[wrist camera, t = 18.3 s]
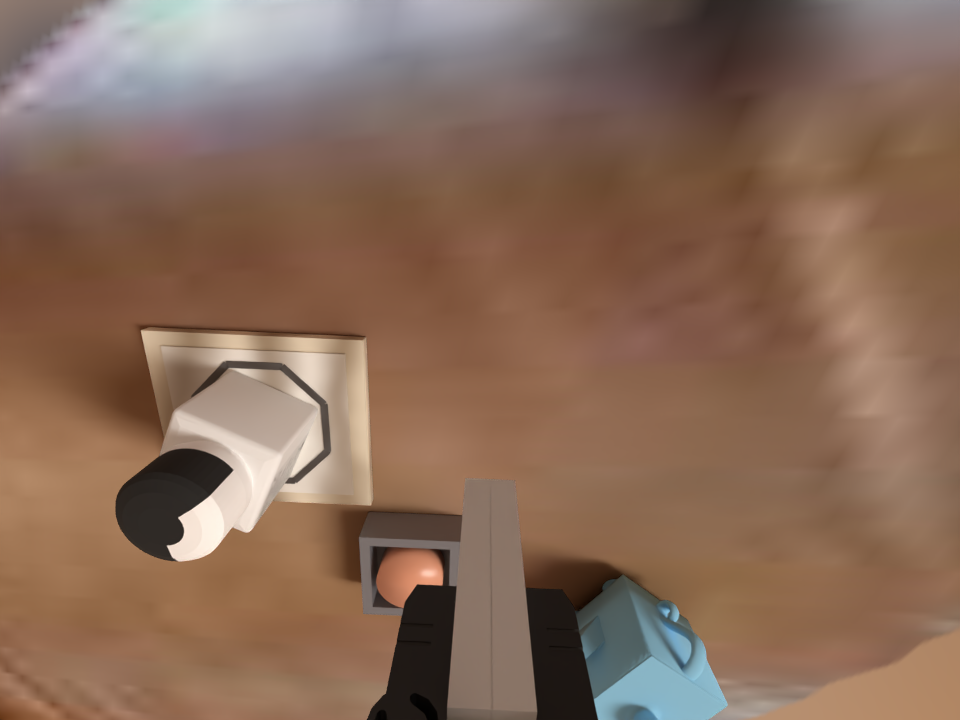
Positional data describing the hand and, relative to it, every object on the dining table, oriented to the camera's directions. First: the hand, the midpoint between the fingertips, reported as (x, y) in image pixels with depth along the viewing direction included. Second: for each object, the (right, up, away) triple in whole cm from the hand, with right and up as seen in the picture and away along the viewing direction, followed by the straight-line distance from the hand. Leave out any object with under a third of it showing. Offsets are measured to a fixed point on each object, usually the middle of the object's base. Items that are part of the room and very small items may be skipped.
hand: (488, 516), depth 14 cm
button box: (-7, -14, +31) cm, 35 cm away
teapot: (+14, -22, +34) cm, 43 cm away
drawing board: (-19, 0, +26) cm, 33 cm away
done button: (-7, -15, +30) cm, 34 cm away
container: (-19, -1, +25) cm, 32 cm away
